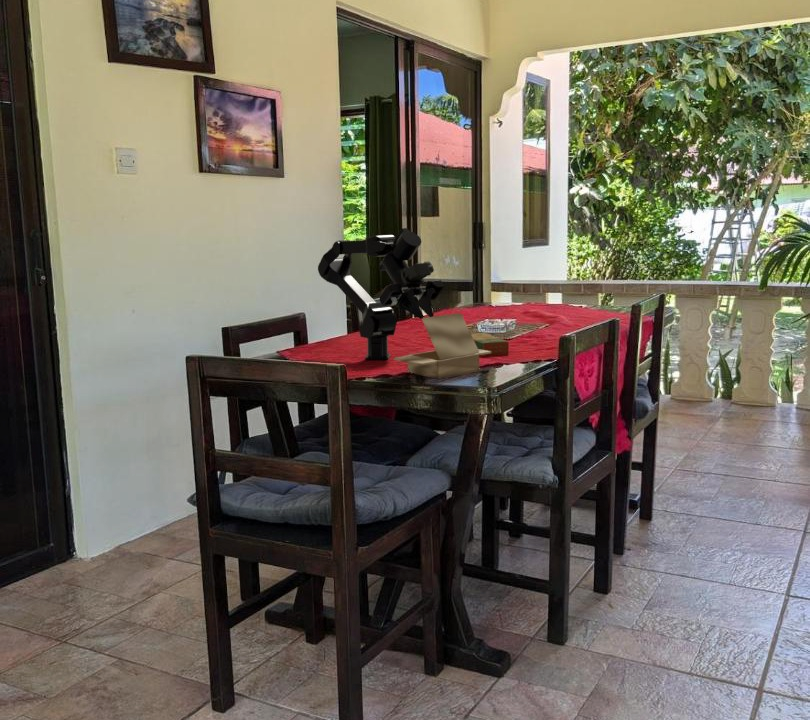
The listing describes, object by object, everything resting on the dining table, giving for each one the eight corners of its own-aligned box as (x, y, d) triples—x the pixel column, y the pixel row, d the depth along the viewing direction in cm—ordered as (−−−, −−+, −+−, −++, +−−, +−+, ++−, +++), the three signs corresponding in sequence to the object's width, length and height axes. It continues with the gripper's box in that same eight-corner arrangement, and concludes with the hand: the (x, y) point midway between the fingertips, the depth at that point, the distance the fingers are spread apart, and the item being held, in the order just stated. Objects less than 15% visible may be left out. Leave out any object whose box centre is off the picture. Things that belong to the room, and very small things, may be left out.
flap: (421, 319, 210) (422, 318, 210) (460, 313, 219) (461, 312, 218) (440, 359, 207) (441, 358, 207) (478, 353, 215) (479, 352, 215)
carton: (485, 346, 255) (486, 332, 254) (509, 355, 240) (509, 340, 240) (460, 348, 253) (460, 334, 252) (482, 357, 238) (482, 342, 237)
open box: (392, 374, 214) (392, 357, 213) (460, 362, 229) (460, 346, 228) (423, 382, 205) (423, 364, 204) (492, 368, 220) (492, 351, 219)
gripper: (385, 253, 214) (414, 300, 207) (439, 249, 225) (468, 294, 219) (367, 282, 221) (394, 328, 215) (420, 277, 233) (448, 321, 227)
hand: (427, 317), depth 219 cm, fingers open, 3 cm apart
